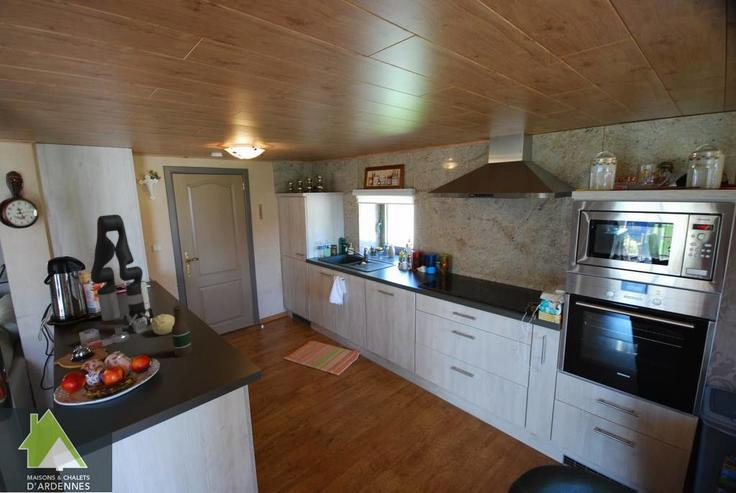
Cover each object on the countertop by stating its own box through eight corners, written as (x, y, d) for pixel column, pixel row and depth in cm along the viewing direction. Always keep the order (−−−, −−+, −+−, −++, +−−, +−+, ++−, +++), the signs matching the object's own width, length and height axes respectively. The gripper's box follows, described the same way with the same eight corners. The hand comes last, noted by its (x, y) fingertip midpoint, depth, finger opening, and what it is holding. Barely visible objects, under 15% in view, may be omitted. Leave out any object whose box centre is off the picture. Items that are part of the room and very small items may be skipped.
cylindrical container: (145, 325, 200) (138, 285, 196) (135, 324, 201) (128, 285, 197) (155, 320, 207) (149, 281, 202) (145, 320, 208) (139, 281, 204)
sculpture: (150, 333, 188) (147, 315, 186) (173, 326, 197) (171, 309, 195) (156, 339, 180) (153, 320, 178) (180, 331, 189) (178, 313, 187)
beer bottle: (180, 358, 158) (173, 310, 154) (171, 354, 162) (164, 308, 158) (195, 351, 164) (189, 305, 160) (186, 348, 169) (180, 303, 164)
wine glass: (75, 350, 169) (72, 337, 168) (126, 335, 186) (124, 323, 185) (79, 355, 164) (76, 341, 163) (131, 339, 181) (129, 326, 180)
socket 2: (134, 331, 192) (132, 320, 190) (144, 328, 195) (142, 317, 194) (136, 333, 188) (135, 322, 187) (146, 330, 192) (145, 319, 191)
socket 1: (81, 345, 176) (78, 331, 175) (94, 340, 181) (92, 327, 180) (87, 347, 173) (85, 333, 172) (100, 342, 179) (98, 329, 177)
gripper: (147, 297, 197) (151, 322, 199) (118, 303, 186) (123, 331, 189) (152, 299, 192) (156, 325, 195) (122, 306, 181) (127, 334, 184)
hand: (140, 328), depth 192 cm, fingers open, 8 cm apart
